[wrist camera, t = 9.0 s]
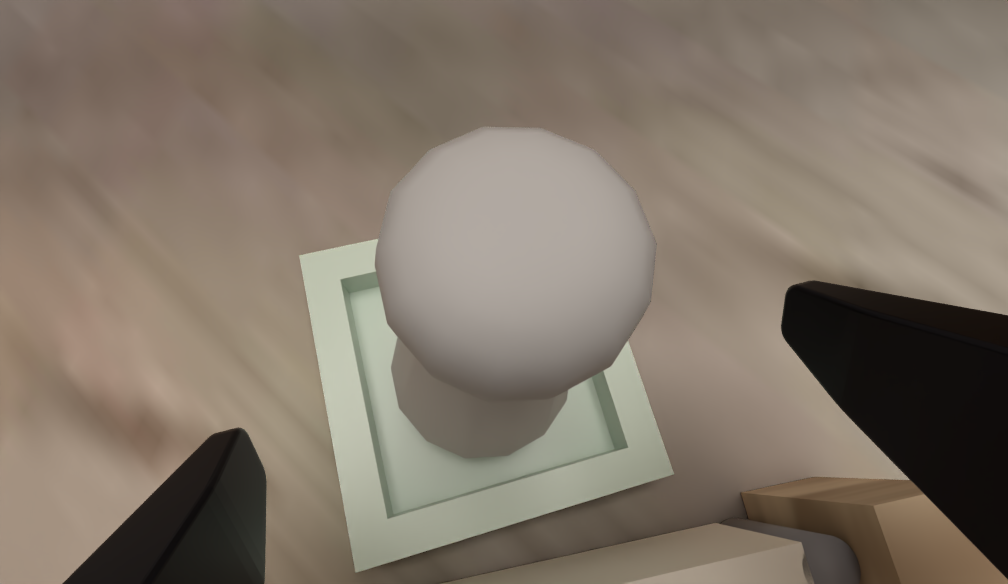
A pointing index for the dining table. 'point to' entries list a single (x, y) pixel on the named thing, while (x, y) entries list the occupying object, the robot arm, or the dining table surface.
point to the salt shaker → (508, 283)
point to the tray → (438, 472)
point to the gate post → (878, 528)
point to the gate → (699, 559)
